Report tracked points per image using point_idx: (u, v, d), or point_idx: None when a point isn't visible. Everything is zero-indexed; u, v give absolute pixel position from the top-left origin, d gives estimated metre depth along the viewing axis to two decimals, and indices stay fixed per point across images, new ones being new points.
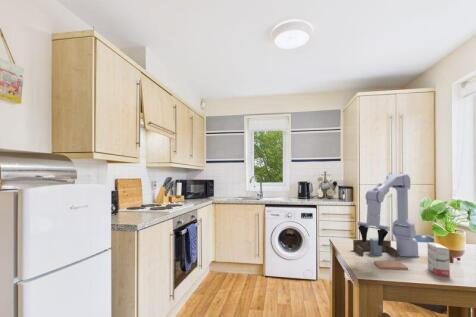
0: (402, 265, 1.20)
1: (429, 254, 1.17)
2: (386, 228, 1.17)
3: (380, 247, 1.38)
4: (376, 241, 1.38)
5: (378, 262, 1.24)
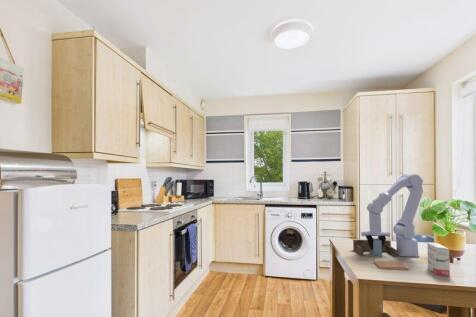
0: (402, 265, 1.20)
1: (429, 254, 1.17)
2: (389, 234, 1.39)
3: (380, 247, 1.38)
4: (376, 241, 1.38)
5: (378, 262, 1.24)
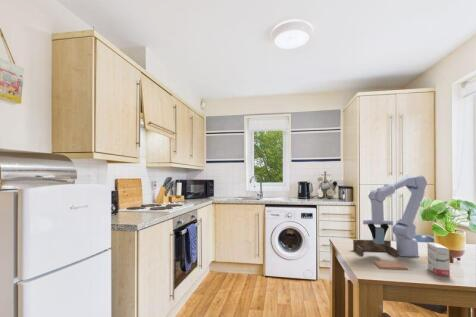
0: (402, 265, 1.20)
1: (429, 254, 1.17)
2: (392, 223, 1.36)
3: (382, 235, 1.34)
4: (378, 229, 1.35)
5: (378, 262, 1.24)
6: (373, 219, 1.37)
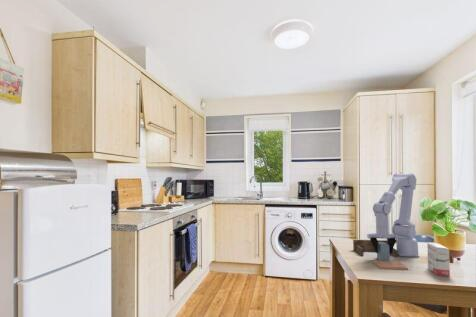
0: (402, 265, 1.20)
1: (429, 254, 1.17)
2: (397, 237, 1.30)
3: (388, 252, 1.29)
4: (383, 246, 1.29)
5: (378, 262, 1.24)
6: (378, 233, 1.31)
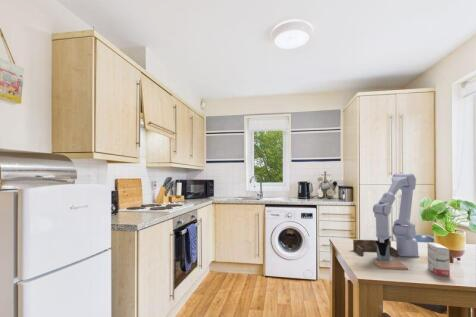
0: (402, 265, 1.20)
1: (429, 254, 1.17)
2: None
3: (388, 252, 1.29)
4: None
5: (378, 262, 1.24)
6: (384, 235, 1.29)
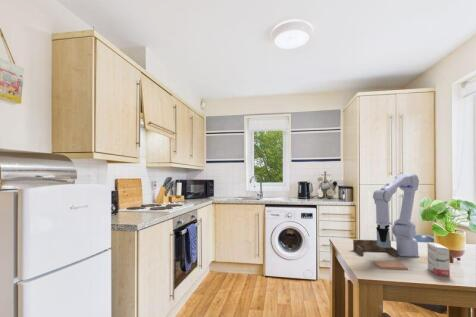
0: (402, 265, 1.20)
1: (429, 254, 1.17)
2: None
3: (388, 238, 1.28)
4: None
5: (378, 262, 1.24)
6: (385, 221, 1.28)
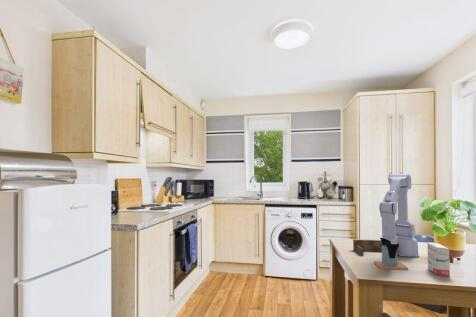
0: (402, 265, 1.20)
1: (429, 254, 1.17)
2: None
3: (396, 256, 1.20)
4: None
5: (378, 262, 1.24)
6: (393, 235, 1.20)
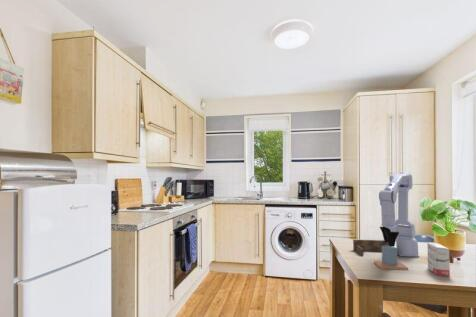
0: (402, 265, 1.20)
1: (429, 254, 1.17)
2: None
3: (396, 256, 1.20)
4: (392, 249, 1.20)
5: (378, 262, 1.24)
6: (392, 223, 1.20)
